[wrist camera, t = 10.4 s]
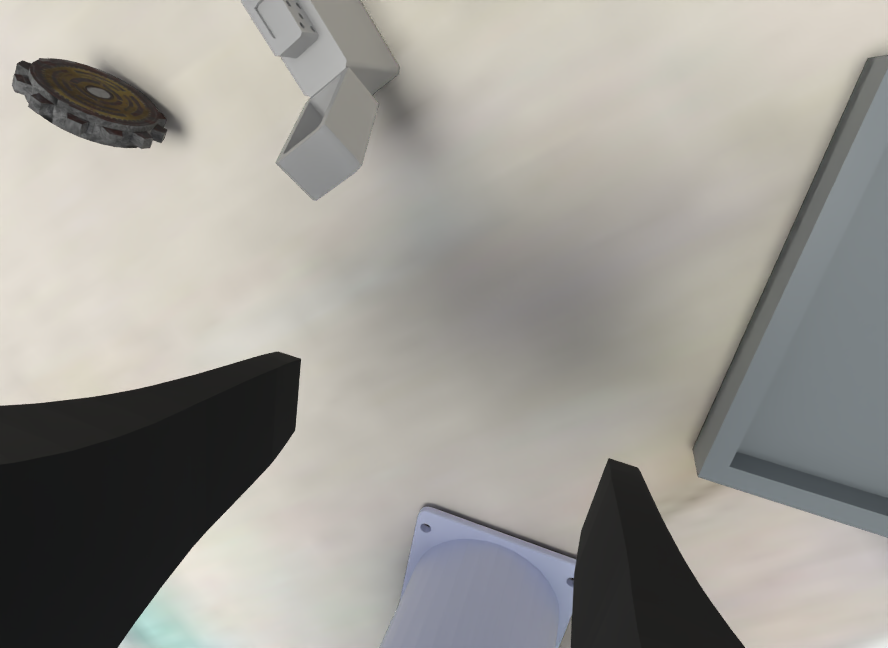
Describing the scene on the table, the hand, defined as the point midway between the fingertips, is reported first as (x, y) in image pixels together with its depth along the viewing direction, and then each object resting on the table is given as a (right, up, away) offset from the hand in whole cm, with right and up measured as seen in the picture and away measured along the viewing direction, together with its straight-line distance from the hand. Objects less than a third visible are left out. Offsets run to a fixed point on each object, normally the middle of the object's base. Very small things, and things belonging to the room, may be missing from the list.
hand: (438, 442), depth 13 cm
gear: (-12, +12, +11) cm, 20 cm away
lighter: (-2, +12, +8) cm, 14 cm away
